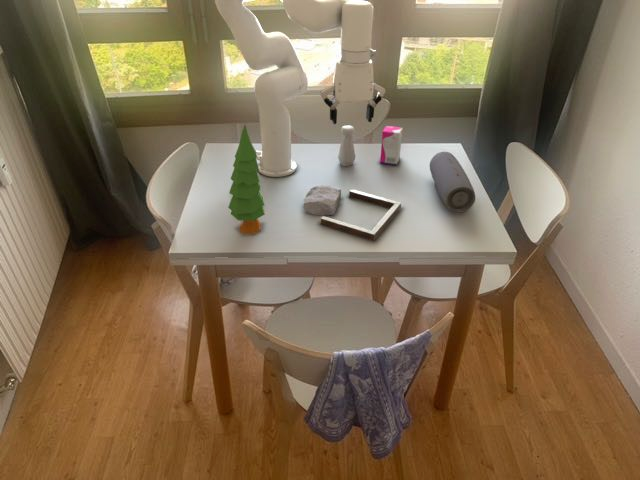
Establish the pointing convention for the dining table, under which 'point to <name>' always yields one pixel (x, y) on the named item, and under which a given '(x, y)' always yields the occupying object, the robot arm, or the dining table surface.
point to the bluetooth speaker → (452, 182)
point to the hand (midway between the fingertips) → (351, 121)
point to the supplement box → (391, 145)
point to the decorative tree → (246, 187)
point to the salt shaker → (347, 146)
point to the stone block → (322, 200)
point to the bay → (361, 231)
